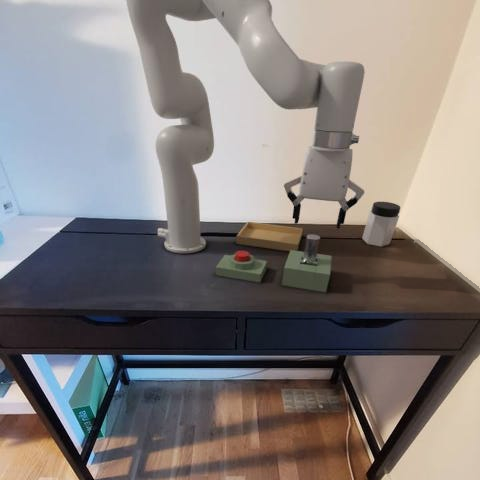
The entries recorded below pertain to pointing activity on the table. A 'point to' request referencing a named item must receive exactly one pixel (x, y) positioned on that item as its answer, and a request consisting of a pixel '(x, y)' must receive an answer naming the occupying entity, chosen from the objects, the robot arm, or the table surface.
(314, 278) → the green slotted base
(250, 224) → the tray
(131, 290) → the table surface
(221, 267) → the stop block
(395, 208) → the jar
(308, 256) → the grey peg
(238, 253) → the stop button
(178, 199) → the robot arm
